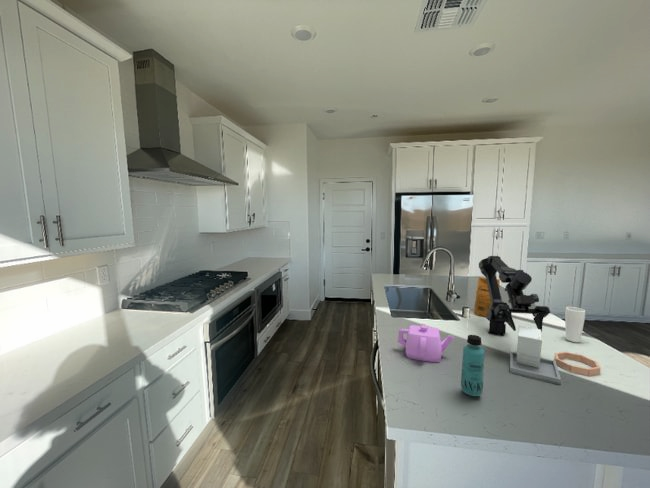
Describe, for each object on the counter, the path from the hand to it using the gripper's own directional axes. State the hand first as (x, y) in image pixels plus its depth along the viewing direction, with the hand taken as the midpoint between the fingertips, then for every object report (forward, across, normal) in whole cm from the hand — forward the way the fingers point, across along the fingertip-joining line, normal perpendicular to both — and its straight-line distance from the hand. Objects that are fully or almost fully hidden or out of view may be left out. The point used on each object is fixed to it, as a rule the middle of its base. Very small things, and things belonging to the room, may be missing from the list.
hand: (527, 331), depth 112 cm
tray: (+13, 0, +5) cm, 14 cm away
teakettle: (+9, -38, +10) cm, 41 cm away
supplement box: (+9, 0, +8) cm, 12 cm away
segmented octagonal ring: (+10, +17, +9) cm, 21 cm away
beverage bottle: (+27, -28, -9) cm, 40 cm away
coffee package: (-28, +4, +47) cm, 55 cm away
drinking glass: (-8, +31, +26) cm, 41 cm away
